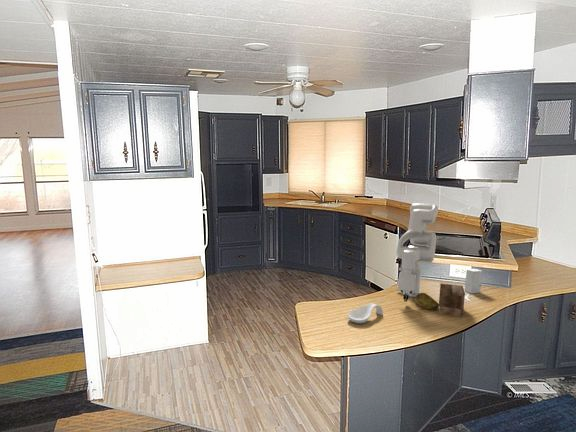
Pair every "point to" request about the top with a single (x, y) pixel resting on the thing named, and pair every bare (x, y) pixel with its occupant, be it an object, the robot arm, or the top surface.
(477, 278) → the skincare box
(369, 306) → the spoon rest
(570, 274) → the top surface
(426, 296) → the potato
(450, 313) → the cubby
